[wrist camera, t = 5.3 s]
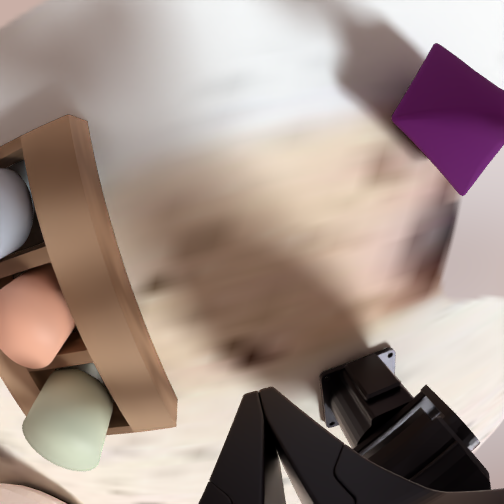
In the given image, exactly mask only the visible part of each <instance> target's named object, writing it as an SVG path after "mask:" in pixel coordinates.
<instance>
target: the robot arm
mask: <svg viewBox="0 0 504 504" xmlns="http://www.w3.org/2000/svg"><path fill="white" fill-rule="evenodd" d="M389 353H390V354H389ZM388 354H389V355H388ZM327 376H328V377H327ZM325 377H327V378H325ZM320 385H321V393H322V401H323V409H324V418H325V424H326V426H327V427H328V428H331V427H334V426H337V425H340V427H341V429H342V431H343V433H344V435H345V436H346V438H347V440H348V442H349V444H350V446H351V448H352V449H351V448H350V447H349V446H347V445H344V443H343V442H342V441H340V440H339V439H338V438H336V437H335V436H334V435H332V434H331V433H330V432H329V431H327V430H326V429H325V428H323V427H322V426H321V425H319V424H318V423H317V422H316V421H314V420H313V419H312V418H311V417H309V416H308V415H307V414H306V413H304V412H303V411H302V410H301V409H299V408H298V407H297V406H296V405H294V404H293V403H292V402H291V401H290V400H288V399H287V398H286V397H285V396H284V395H282V394H281V393H280V392H279V391H278V390H276V389H275V388H274V387H268V388H264V389H261V390H259V392H258V391H254V392H250V393H246V394H244V396H243V398H242V400H241V403H240V406H239V408H238V411H237V413H236V416H235V418H234V421H233V423H232V426H231V428H230V431H229V433H228V436H227V438H226V441H225V443H224V446H223V448H222V451H221V453H220V455H219V458H218V460H217V463H216V465H215V468H214V470H213V472H212V475H211V477H210V479H209V481H210V482H208V484H207V486H206V489H205V491H204V493H203V495H202V497H201V499H200V501H199V504H286V501H285V494H284V488H283V481H282V474H281V467H280V461H279V458H280V460H281V462H282V464H283V467H284V469H285V471H286V473H287V475H288V477H289V479H290V481H291V483H292V485H293V487H294V489H295V491H296V493H297V495H298V497H299V499H300V501H301V503H302V504H504V488H503V489H494V490H491V487H490V481H489V473H488V471H487V470H486V468H484V466H483V465H482V464H481V463H480V461H479V460H478V459H477V458H476V457H475V455H474V454H473V453H472V452H471V451H472V450H473V449H475V448H476V447H477V446H478V445H479V444H480V442H479V440H478V439H477V438H476V436H475V435H474V434H473V433H472V432H471V430H470V429H469V428H468V427H467V426H466V425H465V424H464V422H463V421H462V420H461V419H460V418H459V417H458V416H457V415H456V414H455V413H454V412H453V411H452V410H451V409H450V408H449V407H448V406H447V405H446V404H445V403H444V402H443V401H442V400H441V399H440V398H439V397H438V396H437V395H436V394H435V393H434V392H433V391H432V390H431V389H430V388H429V387H428V386H427V385H425V386H424V387H423V388H422V389H421V392H420V393H418V394H417V395H416V396H415V397H413V396H412V395H411V394H410V393H409V392H408V391H407V389H406V388H405V387H404V386H403V385H402V384H401V381H400V380H399V379H398V378H397V377H396V376H395V351H394V350H393V349H392V348H386V349H384V350H382V351H379V352H376V353H374V354H371V355H369V356H366V357H363V358H361V359H358V360H355V361H353V362H350V363H347V364H344V365H341V366H339V367H336V368H333V369H330V370H327V371H324V372H323V373H321V375H320ZM277 452H278V453H277ZM278 455H279V457H278Z"/></svg>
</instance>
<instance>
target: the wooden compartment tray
mask: <svg viewBox="0 0 504 504" xmlns="http://www.w3.org/2000/svg"><path fill="white" fill-rule="evenodd" d="M22 160H24V161H25V166H26V171H27V176H28V181H29V185H30V190H31V194H32V198H33V202H34V206H35V210H36V214H37V217H38V221H39V225H40V228H41V232H42V235H43V238H44V241H45V242H44V243H41V244H38V245H35V246H32V247H29V248H27V249H24V250H21V251H18V252H15V253H13V254H10V255H7V256H5V257H3V258H1V259H0V289H2V288H3V287H4V286H6V285H7V284H8V283H10V282H11V281H13V278H12V274H15V273H18V272H21V271H24V270H27V269H31V268H34V267H37V266H40V265H43V264H46V263H50V262H51V263H52V266H53V269H54V272H55V274H56V277H57V280H58V282H59V285H60V288H61V290H62V293H63V296H64V298H65V301H66V303H67V305H68V308H69V310H70V313H71V315H72V317H73V320H74V322H75V324H76V326H77V329H78V331H79V332H74V333H71V334H70V335H69V337H68V338H67V340H66V341H65V343H64V344H63V346H62V347H61V349H60V350H59V352H58V353H57V355H56V356H55V358H54V359H53V361H52V362H51V363H50V364H49V365H47V366H46V367H43V368H40V369H31V368H27V367H24V366H21V365H19V364H17V363H16V362H14V361H13V360H11V359H10V358H9V357H8V356H7V355H5V354H4V352H3V351H2V350H1V349H0V376H1V378H2V380H3V381H4V383H5V385H6V386H7V388H8V390H9V391H10V393H11V394H12V396H13V398H14V399H15V401H16V402H17V404H18V405H19V407H20V408H21V410H22V411H23V413H24V414H25V415H26V416H27V414H28V413H29V411H30V409H31V407H32V405H33V404H34V402H35V400H36V398H37V396H38V395H39V393H40V391H41V390H42V388H43V386H44V384H45V383H46V381H47V379H48V378H49V376H50V375H51V373H52V372H54V371H55V370H54V368H60V367H67V366H74V365H80V364H86V363H92V362H94V364H95V366H96V368H97V370H98V372H99V374H100V376H101V377H102V379H103V381H104V383H105V385H106V387H107V388H108V390H109V392H110V394H111V396H112V397H113V399H114V401H115V402H113V411H112V415H111V419H110V422H109V426H108V429H107V433H106V435H113V434H124V433H133V432H142V431H150V430H158V429H165V428H172V427H176V420H177V400H178V399H177V397H176V395H175V393H174V391H173V389H172V386H171V384H170V382H169V380H168V378H167V376H166V373H165V371H164V369H163V366H162V364H161V362H160V360H159V357H158V355H157V353H156V350H155V348H154V345H153V343H152V340H151V338H150V336H149V333H148V331H147V328H146V325H145V323H144V320H143V318H142V315H141V312H140V310H139V307H138V304H137V302H136V299H135V296H134V293H133V291H132V288H131V285H130V282H129V279H128V276H127V273H126V270H125V267H124V264H123V261H122V258H121V255H120V252H119V248H118V245H117V242H116V239H115V235H114V232H113V228H112V225H111V222H110V218H109V214H108V211H107V207H106V203H105V199H104V196H103V192H102V188H101V184H100V180H99V175H98V171H97V167H96V162H95V158H94V153H93V148H92V143H91V138H90V133H89V128H88V123H87V121H85V120H83V119H80V118H77V117H74V116H72V115H69V114H68V115H65V116H63V117H61V118H58V119H56V120H54V121H51V122H49V123H47V124H45V125H43V126H40V127H38V128H36V129H34V130H32V131H30V132H28V133H26V134H24V135H22V136H20V137H18V138H16V139H14V140H12V141H10V142H8V143H6V144H4V145H3V146H1V147H0V168H7V167H9V166H11V165H13V164H16V163H18V162H20V161H22Z"/></svg>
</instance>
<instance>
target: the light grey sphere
mask: <svg viewBox="0 0 504 504" xmlns="http://www.w3.org/2000/svg"><path fill="white" fill-rule="evenodd" d="M32 222H33V203H32V198H31V194H30V191H29V189H28V187H27V185H26V183H25V181H24V180H23V179H22V178H21V176H20V175H19V174H17V173H16V172H14V171H13V170H10V169H7V168H0V259H1V258H3V257H5V256H7V255H8V254H10V253H12V252H14V251H16V250H17V249H19V248H20V247H21V246H22V245H23V244H24V242H25V241H26V239H27V238H28V236H29V233H30V231H31V227H32Z"/></svg>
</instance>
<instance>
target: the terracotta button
mask: <svg viewBox="0 0 504 504" xmlns="http://www.w3.org/2000/svg"><path fill="white" fill-rule="evenodd" d="M75 326H76V324H75V322H74V320H73V317H72V315H71V313H70V310H69V308H68V305H67V303H66V301H65V298H64V296H63V293H62V290H61V288H60V285H59V282H58V280H57V277H56V274H55V272H54V269H53V266H52V263H46V264H43V265H40V266H37V267H34V268H31V269H28V270H27V271H25V272H24V273H23V274H21V275H20V276H18V277H17V278H15V279H14V280H13V281H11V282H10V283H8V284H7V285H6V286H4V287H3V288H2V289H0V349H1V350H2V351H3V352H4V354H5V355H7V356H8V357H9V358H10V359H11V360H13V361H14V362H16V363H17V364H19V365H21V366H24V367H27V368H31V369H40V368H43V367H46V366H47V365H49V364H50V363H51V362H52V361H53V359H54V358H55V356H56V355H57V353H58V352H59V350H60V349H61V347H62V346H63V344H64V343H65V341H66V340H67V338H68V337H69V335H70V334H71V332H72V331H73V329H74V328H75Z"/></svg>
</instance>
